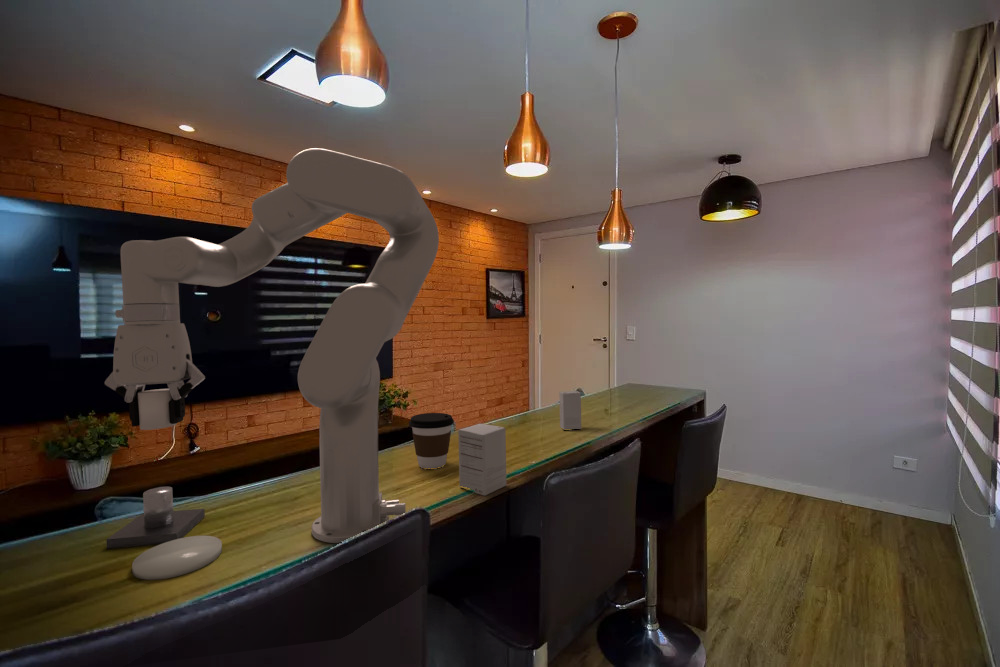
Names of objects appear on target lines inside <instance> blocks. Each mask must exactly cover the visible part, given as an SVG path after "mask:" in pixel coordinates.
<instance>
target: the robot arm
mask: <svg viewBox="0 0 1000 667" xmlns="http://www.w3.org/2000/svg"><path fill="white" fill-rule="evenodd" d="M285 174H286V175H285V176H286V181H287V182H286V183H285V184H283V185H280V186H278V187H276V188H275V189H273V190H271V191H269V192H267V193H265V194H263V195H261V196H259V197H256V199H254V200H253V201H252V204H251V212H252V213H251V214H252V220H251V223H250V224H249V225H248V226H247V227H246V228H245V229H244V230H243V231H241V232H240V233H238V234H236V235H235V236H233V237H232V238H229V239H227V240H225V241H223V242H221V243H218V244H217V243H213V242H209V241H206V240H202V239H201V240H200V239H197V238H195V237H194V238H193V237H190V236H175V237H169V238H165V239H164V238H163V239H158V240H146V239H139V240H137V239H136V240H134V239H132V240H128V241H125V242H124V243H123V244H122V245H121V247H120V267H121V287H122V290H121V291H122V301H123V302H122V303H123V305H122V306H121V309H116V310H115V313H114V315H115V317H116V318H118V319H122V321H123V322H124V324H119V325H117V329H116V334H115V338H114V348H113V360H112V363H113V365H112V372H111V373H110V374H109V376H108V377H106V379H105V381H104V386H106V387H108V388H110V389H111V390H113V391H115V392H116V393H117V394H118V395H119V396H121V397H122V398H123V399H124V402H126V403H128V414H129V420H130V421H131V427H140V421H139V404H138V392H142V391H145V388H146V385H159V384H161V385H163V384H167V389H169V390H170V393H171V396H172V400H170V401H169V419H170V423H171V424H176V423H177V424H178V423H181V422H183V420H184V417H185V416H186V405H185V404H186V403H185V398H187V397H188V395H189V394H190V393H191V392H192V391H193V390H194V389H195V388H196V386H198V385H200V383H202V382H203V381H204V380H205V379H206V376H205V375H204V374H203V372H201V370H200V369H199V368H198V367H197V366H196V365H195V364H194V363H193V358H192V356H193V355H192V349H191V345H190V344H191V343H190V339H189V336H188V332H187V329H186V325H185V323H183V322H182V323H181V317H180V316H181V315H180V310H181V309H180V294H179V283H180V284H187V285H197V286H199V285H201V286H206V287H207V286H209V287H213V288H214V287H215V288H216V287H217V288H220V287H226V286H229V285H232V284H234V283H237V282H239V281H241V280H243V279H245V278H246V277H249V276H250V275H252V274H254V273H257V272H258V271H259V270H261V269H263V268H265V267H266V266H267V265H269V264H270V263H271V262H272V261H273V260H274V259H275V258H276V257H277V256H279V254H280V253H281V252H282V251H283V250H284V248H285V247H286V246H288V245H290V244H292V243H293V242H296V241H297V240H299V239H302V237H304V236H306V235H309V233H312V232H314V231H316V230H318V229H320V228H321V227H323V226H325V225H327V224H330V223H331V222H334V221H335V220H337V219H339V218H341V217H343V216H344V215H346V214H350V215H355V216H358V217H361V218H366V219H369V220H372V221H375V222H376V223H377V224H378V225H379V226H380V227H382V228H383V229H384V230H386V232H388V234H389V241H388V243H387V245H386V246H385V248H384V249H383V251H382V252H381V253H380V255H379V256H378V258H377V259H376V262H375V265H374V266H373V269H372V270H371V272H370V273H369V276H368V278H367V279H366V281H365V283H358V284H355V285H351V286H349V287H348V288H345V289H344V290H343V291H342V292H341V293H340V294H338V296H337V297H336V298H335V299H334V301H332V304H331V305H330V307H329V308H328V310H327V311H326V314H325V316H324V317H323V320H322V321H321V323H320V325H319V327H318V329H317V331H316V333H315V335H314V336H313V338H312V340H311V341H310V342H311V343H310V344H309V346H308V348H307V349H306V351H305V353H304V356H303V358H302V359H301V362H300V364H299V367H298V372H297V384H298V388H299V392H300V394H301V396H302V397H303V398H304V400H305V401H307V403H308V404H310V405H312V406H314V407H316V408H318V409H320V412H319V474H320V478H319V481H320V512H321V513H320V516H319V517H317V518H316V519H315V520H314V521H313V523H312V524H311V535H312V536H313V537H314V539H317V540H318V541H320V542H323V543H328V544H340V543H339V542H341V541H344V540H346V539H348V538H350V537H353V536H355V535H357V534H359V533H361V532H364V531H366V530H368V529H371V528H373V527H375V526H377V525H379V524H381V523H383V522H385V521H387V520H389V518H390V516H402V515H401V514H403V513H405V512H406V511H407V510H406V502H401V503H400V500H399V499H391V500H386V499H383V492H380V486H379V485H380V481H379V480H380V478H379V475H380V474H379V398H380V397H379V396H380V384H381V383H380V382H381V371H380V367H379V362H378V360H377V357H378V355H379V353H380V351H381V349H382V347H383V346H384V344H385V343H386V342H388V341H390V340H391V339H394V338H395V337H396V336H397V335H398V334H399V332H400V331H401V329H402V328H403V325H404V324H405V320H406V318H407V316H408V315H409V312H410V310H411V309H412V306H413V304H414V302H415V301H416V299H417V298H418V295H419V293H420V291H421V289H422V287H423V284H424V282H425V280H426V279H427V276H428V275H429V272H430V271H431V269H432V266H433V264H434V262H435V260H436V258H437V257H436V256H437V253H438V249H439V242H440V240H439V235H440V234H439V229H438V224H437V222H436V220H435V218H434V216H433V214H432V212H431V210H430V209H429V206H428V205H427V204H426V202H425V201H424V199H423V198H422V194H420V192H419V190H418V188H417V186H416V185H415V183H414V182H413V181H412V179H411V178H410V177H409V176H408V175H407V174H406V173H405V172H403V171H402V170H399V169H398V168H396V167H394V166H390V165H388V164H384V163H380V162H376V161H373V160H368V159H364V158H361V157H358V156H357V157H356V156H354V155H350V154H346V153H343V152H340V151H339V152H338V151H334V150H331V149H326V148H317V147H314V148H308V149H304V150H302V151H300V152H298V153H296V155H294V156H292V158H291V159H290V161H289V162H288V164H287V167H286V173H285ZM188 379H189V380H188ZM184 380H185V381H186V380H188V381H187V382H186V383H185V382H184ZM177 424H176V425H177Z"/></svg>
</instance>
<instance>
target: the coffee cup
mask: <svg viewBox="0 0 1000 667" xmlns="http://www.w3.org/2000/svg"><path fill="white" fill-rule="evenodd" d="M454 424H455V420H454V418H453V416H452V415H451V414H449V413H443V412H426V413H419V414H415V415H413V416H411V417H410V420H409V421H408V426H409V427H411V428H412V432H411V433H412V438H413V439H412V440H413V444H414V450H415V455H416V458H417V462H418V463H417V464H418V466H419V467H421V468H420V469H422V468H427V469H428V468H430V469H431V468H438V467H442V466H443V465H446V463H447V460H448V459H447V457H448V453H449V448H450V442H451V436H452V430H451V429H452V425H454ZM442 468H443V467H442Z"/></svg>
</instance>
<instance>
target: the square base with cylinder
mask: <svg viewBox="0 0 1000 667" xmlns="http://www.w3.org/2000/svg"><path fill="white" fill-rule="evenodd" d="M173 492H174V491H173V487H171V486H158V487H154V488H150V489H148V490H146V491H144V492H143V494H142V498H143V500H142V501H143V505H142V506H143V512H142V513H141V514H140V515H139V516H137V517H136V518H134V519H133V520H131V521H130V522H129V523H127V524H126V525H124V526H123V527H122V528H120V529H118V531H115V533H113V534H112V535H110V536H109V537H107V538H106V541H105V542H106V549H116V548H119V549H120V548H129V547H141V546H142V547H143V546H152V545H154V546H155V545H160V544H163V543H166V542H169V541H172V540H176V539H180V538H184V537H185V536H186V535H187V534H188V533H189V532H190V531H191V530H192V529H193V528H194V527H195V526H196V525H197V524H199V523H200V522H201V521H202V520H203V519H204V518H205V517H206V516H205V508H195V509H193V508H192V509H181V510H174V497H173V495H174V494H173Z"/></svg>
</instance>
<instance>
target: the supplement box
mask: <svg viewBox="0 0 1000 667" xmlns="http://www.w3.org/2000/svg"><path fill="white" fill-rule="evenodd" d="M457 431H458V464H459V465H458V468H459V470H458V472H459V473H458V475H459V476H458V477H459V478H458V479H459V487H460V486H463V487H467V488H470V489H472V490H474V491H475V493H474V494H477V495H481V496H484V497H485V496H487V495H490V494H491V493H494V492H496V491H497V490H500V489H502V488H504V487H506V486H507V448H506V447H507V446H506V442H507V441H506V427H503V426H499V425H491V424H485V423H478V424H474V425H470V426H467V427H464V428H463V427H462V428H460V429H458V430H457Z"/></svg>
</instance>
